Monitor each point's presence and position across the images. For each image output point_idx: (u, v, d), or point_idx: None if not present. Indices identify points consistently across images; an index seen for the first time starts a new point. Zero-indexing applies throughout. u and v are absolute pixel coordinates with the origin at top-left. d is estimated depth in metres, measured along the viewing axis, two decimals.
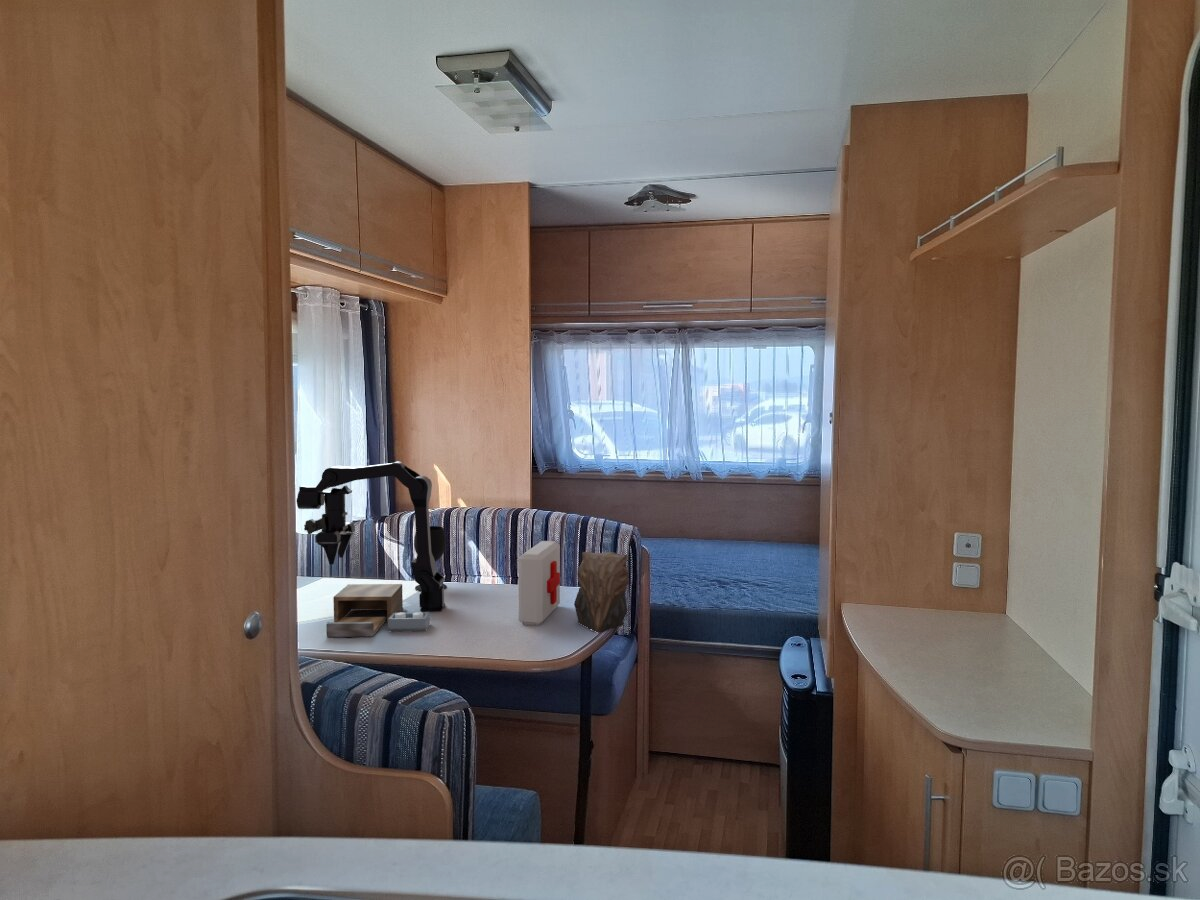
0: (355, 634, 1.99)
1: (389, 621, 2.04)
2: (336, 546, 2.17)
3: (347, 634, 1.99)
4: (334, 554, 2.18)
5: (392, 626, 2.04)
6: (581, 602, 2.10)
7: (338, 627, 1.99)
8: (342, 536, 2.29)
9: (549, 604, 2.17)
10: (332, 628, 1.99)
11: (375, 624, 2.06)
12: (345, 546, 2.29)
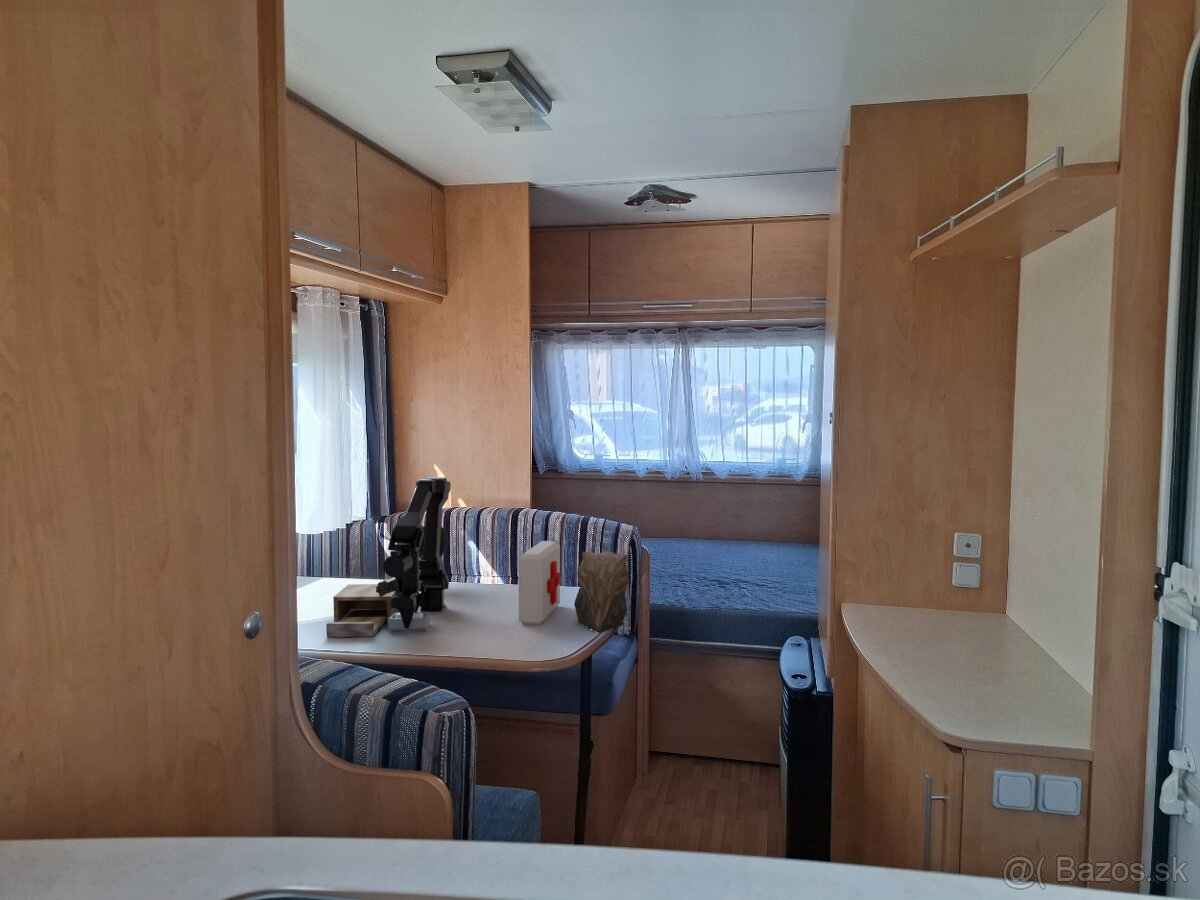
0: (355, 634, 1.99)
1: (389, 621, 2.04)
2: (413, 609, 2.02)
3: (347, 634, 1.99)
4: (410, 617, 2.03)
5: (392, 626, 2.04)
6: (581, 602, 2.10)
7: (338, 627, 1.99)
8: None
9: (549, 604, 2.17)
10: (332, 628, 1.99)
11: (375, 624, 2.06)
12: (416, 608, 2.10)
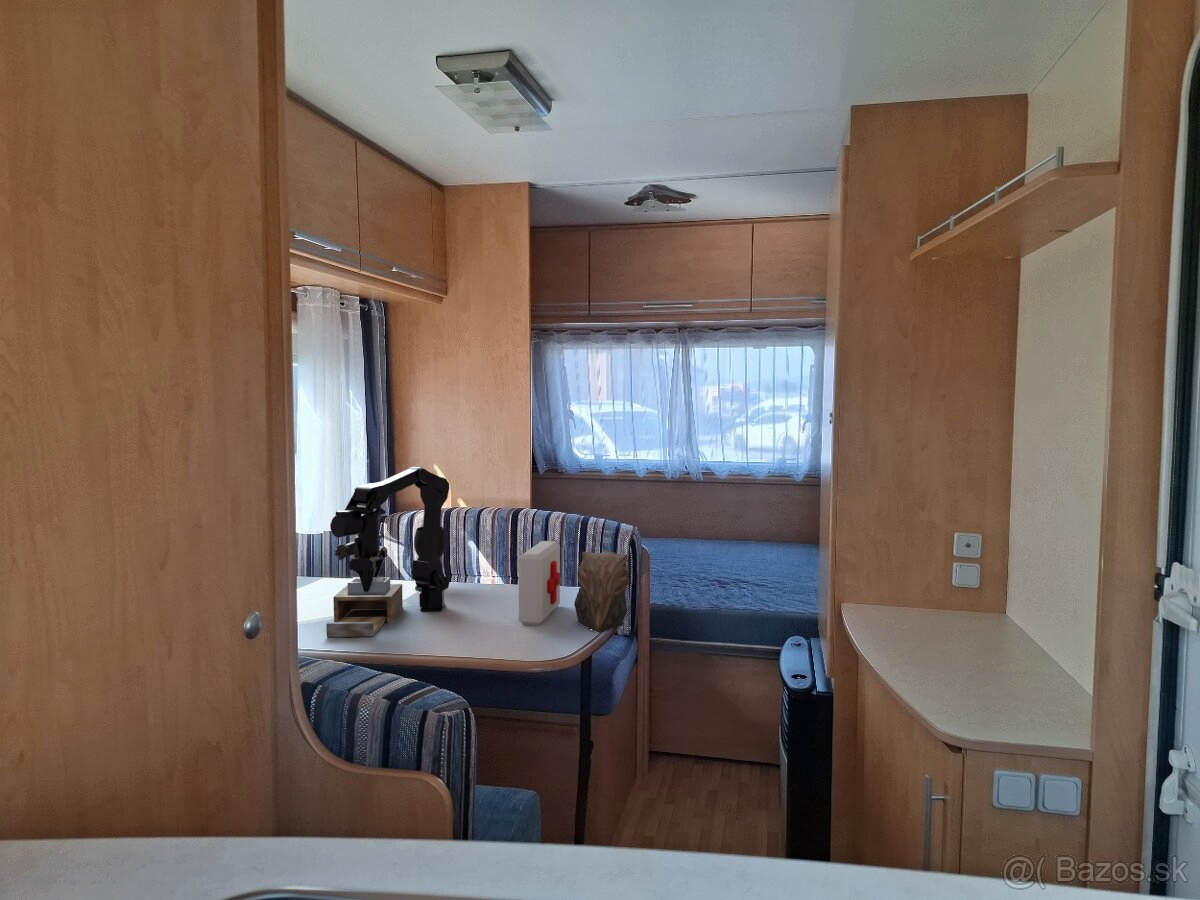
0: (355, 634, 1.99)
1: (348, 585, 2.02)
2: (372, 572, 2.00)
3: (347, 634, 1.99)
4: (369, 581, 2.01)
5: (351, 590, 2.02)
6: (581, 602, 2.10)
7: (338, 627, 1.99)
8: None
9: (549, 604, 2.17)
10: (332, 628, 1.99)
11: (375, 624, 2.06)
12: (376, 573, 2.08)
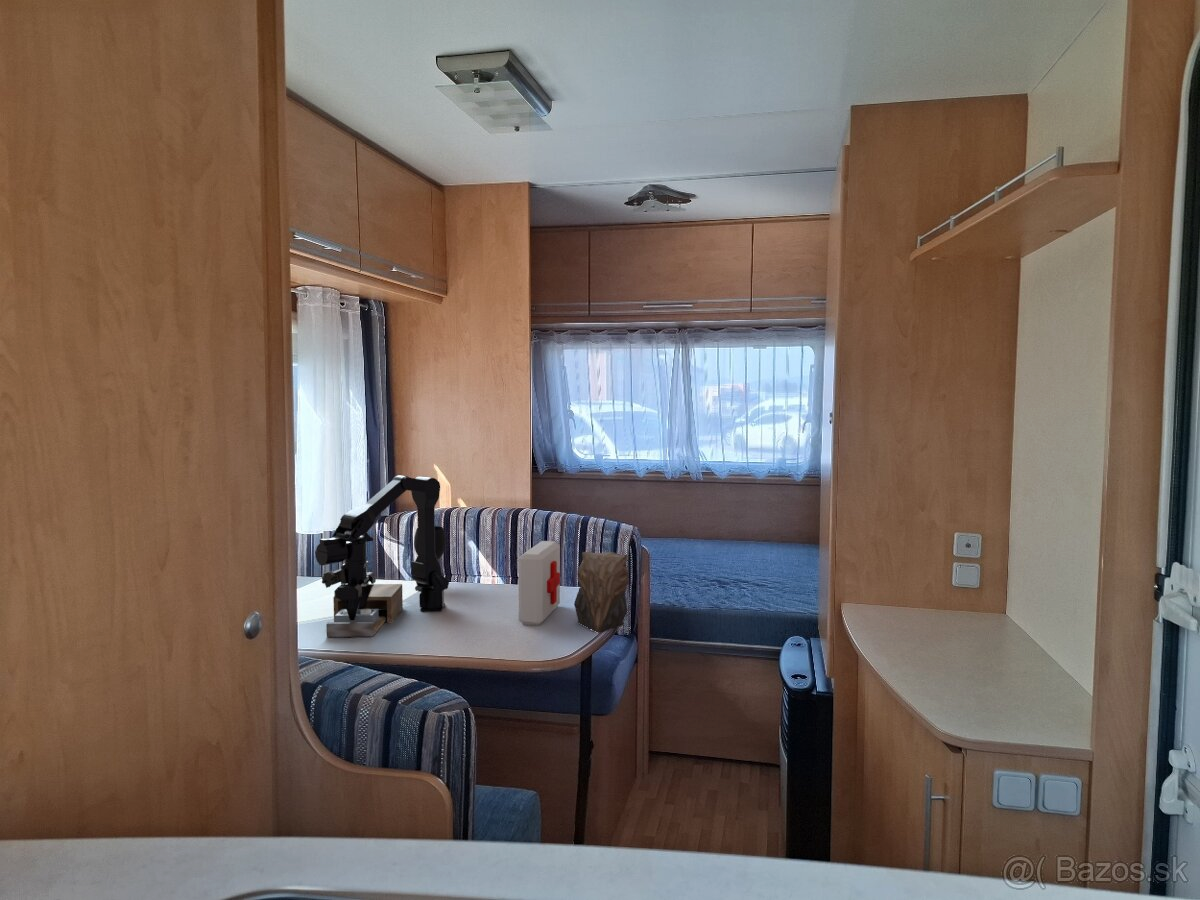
0: (355, 634, 1.99)
1: (336, 617, 2.03)
2: (357, 601, 1.99)
3: (347, 634, 1.99)
4: (355, 609, 2.00)
5: None
6: (581, 602, 2.10)
7: (338, 627, 1.99)
8: (362, 588, 2.10)
9: (549, 604, 2.17)
10: (332, 628, 1.99)
11: None
12: (365, 599, 2.09)
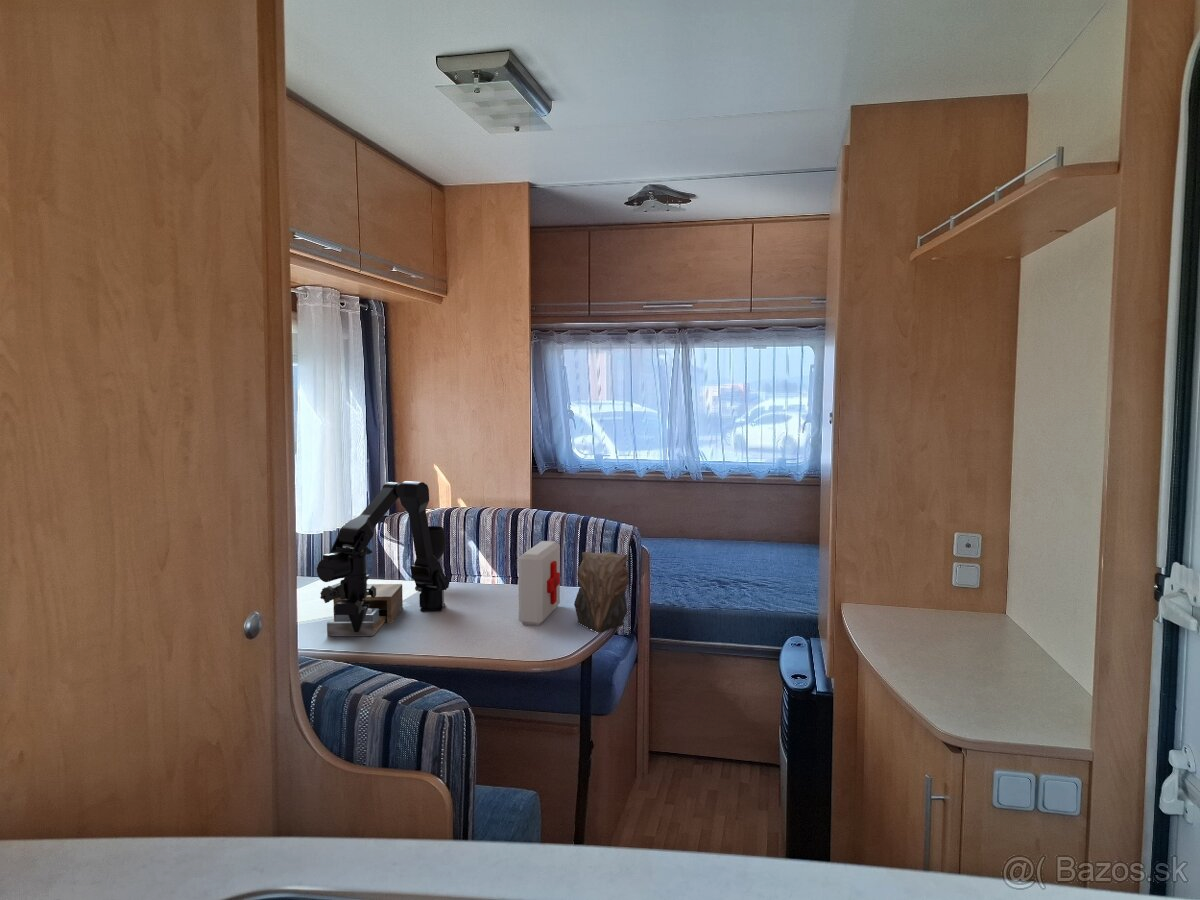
0: (355, 633, 2.00)
1: (336, 617, 2.03)
2: (362, 612, 1.96)
3: (347, 633, 1.99)
4: (359, 621, 1.97)
5: None
6: (581, 602, 2.10)
7: (339, 626, 1.99)
8: None
9: (549, 604, 2.17)
10: (333, 627, 1.99)
11: None
12: None
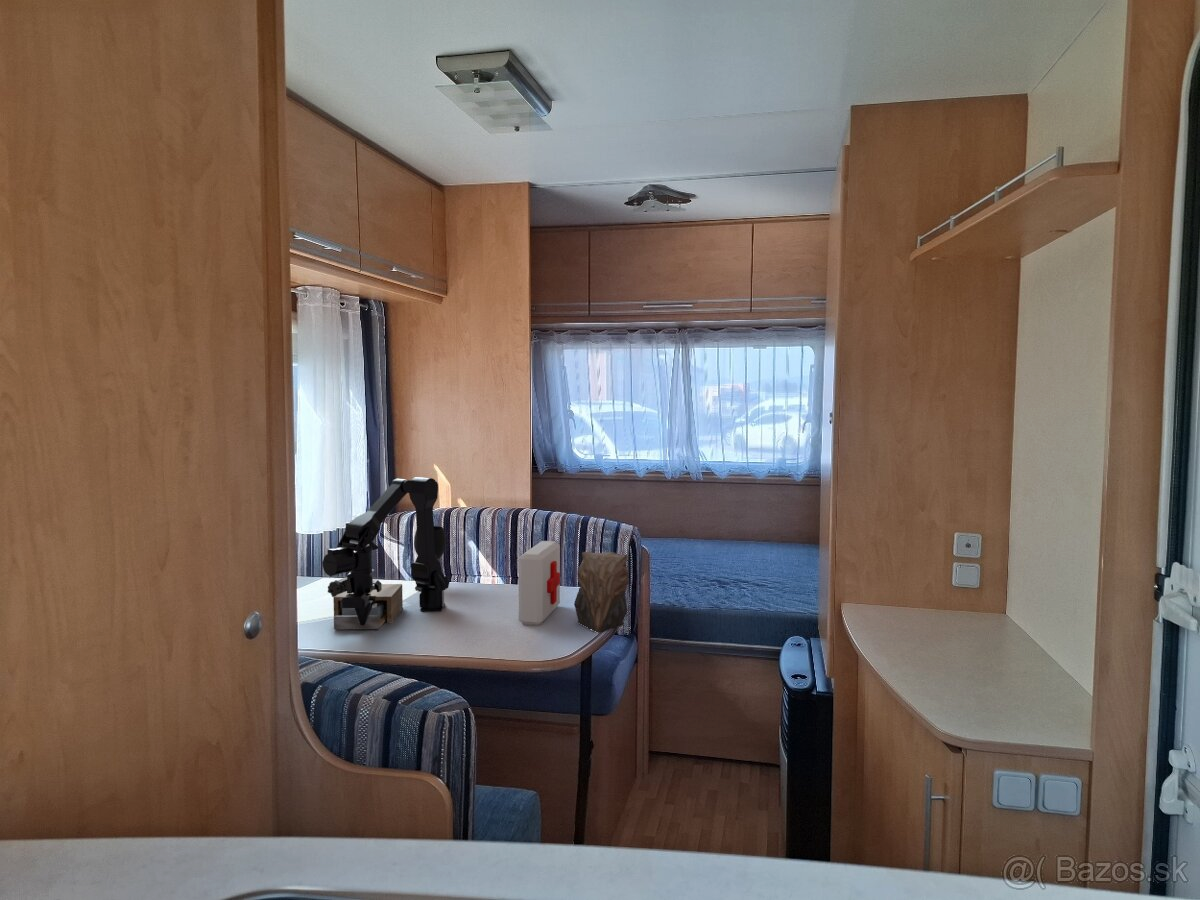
0: (362, 627, 2.05)
1: (343, 611, 2.09)
2: (368, 606, 2.01)
3: (354, 627, 2.05)
4: (365, 614, 2.02)
5: None
6: (581, 602, 2.10)
7: (345, 620, 2.05)
8: None
9: (549, 604, 2.17)
10: (339, 621, 2.05)
11: None
12: None
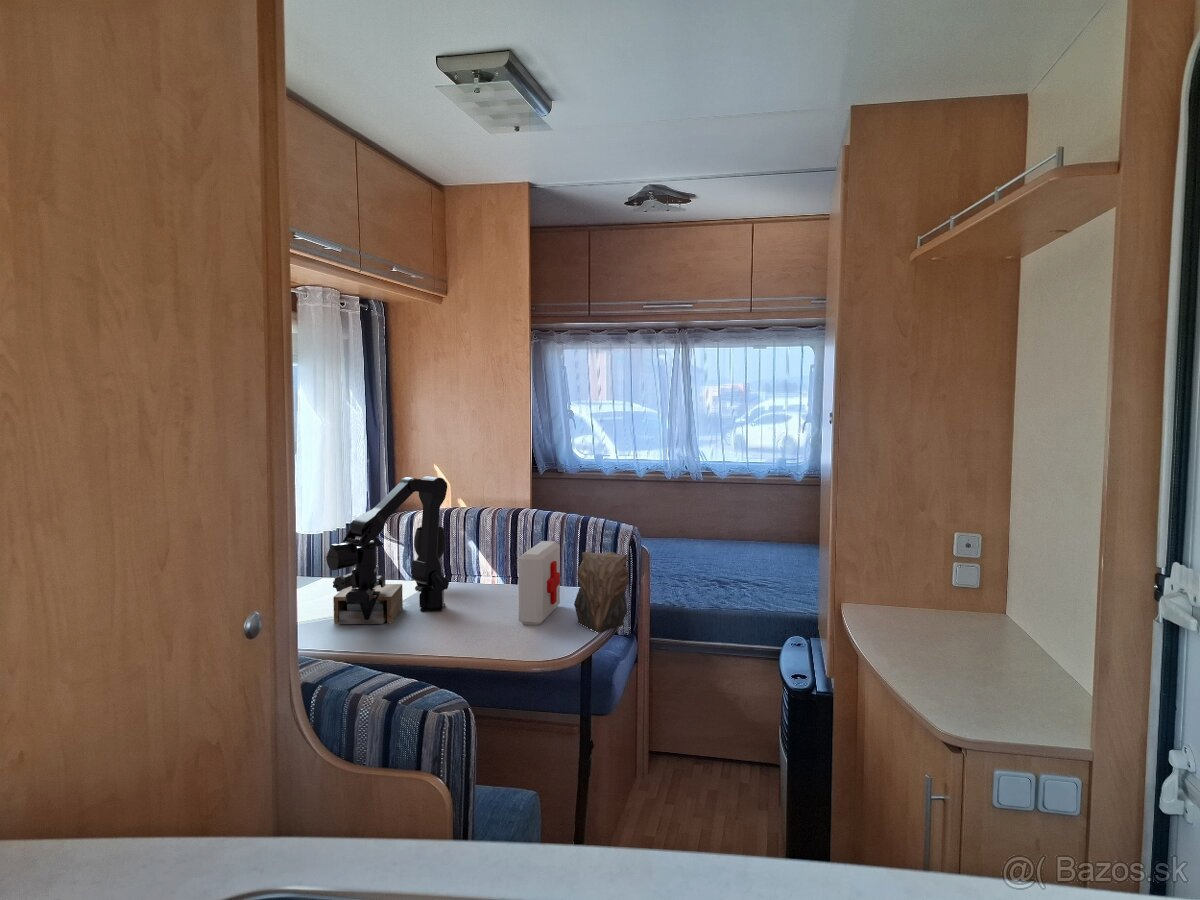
0: (366, 622, 2.10)
1: (348, 606, 2.13)
2: (372, 601, 2.06)
3: (358, 622, 2.10)
4: (370, 609, 2.07)
5: None
6: (581, 602, 2.10)
7: (350, 615, 2.10)
8: None
9: (549, 604, 2.17)
10: (344, 616, 2.10)
11: None
12: None
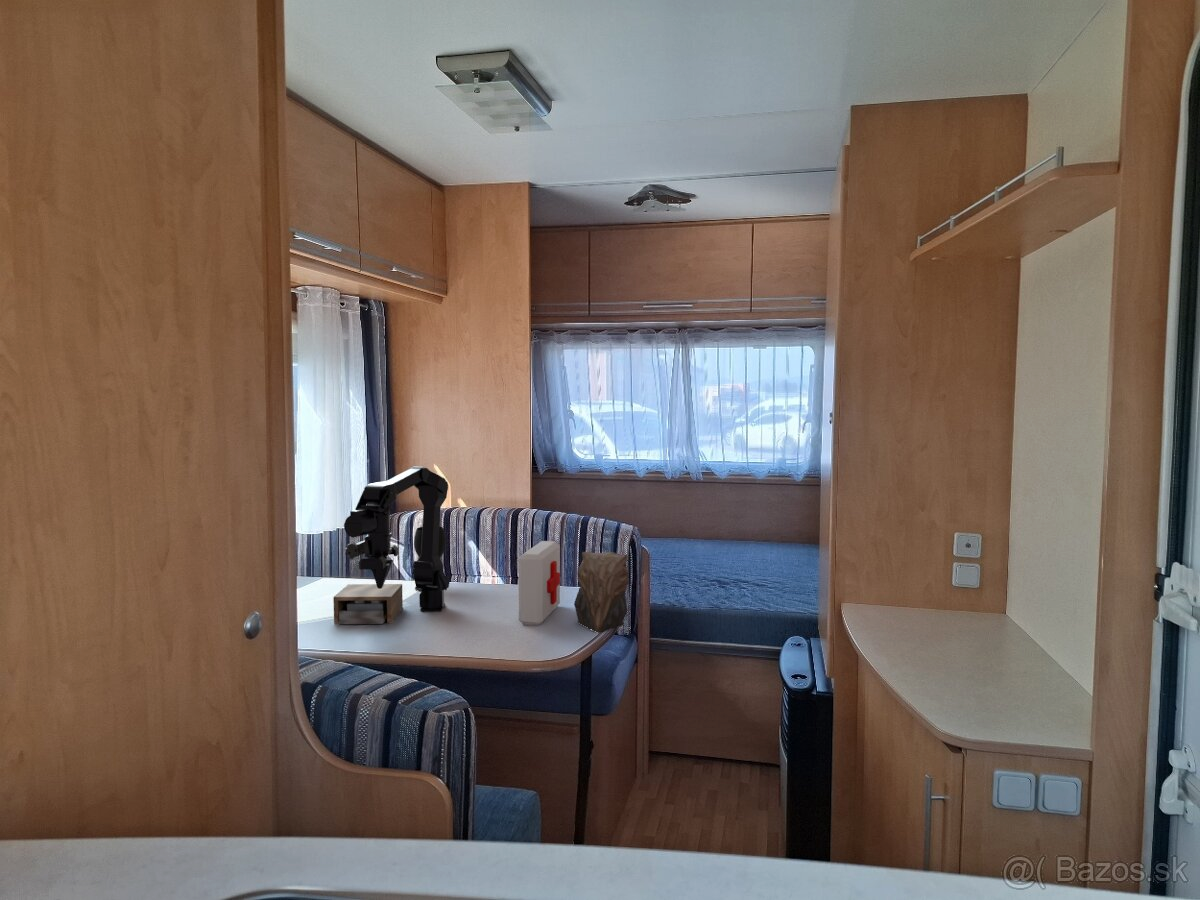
0: (366, 622, 2.10)
1: (348, 606, 2.13)
2: (385, 569, 2.01)
3: (358, 622, 2.10)
4: (383, 577, 2.02)
5: None
6: (581, 602, 2.10)
7: (350, 615, 2.10)
8: None
9: (549, 604, 2.17)
10: (344, 616, 2.10)
11: None
12: None
